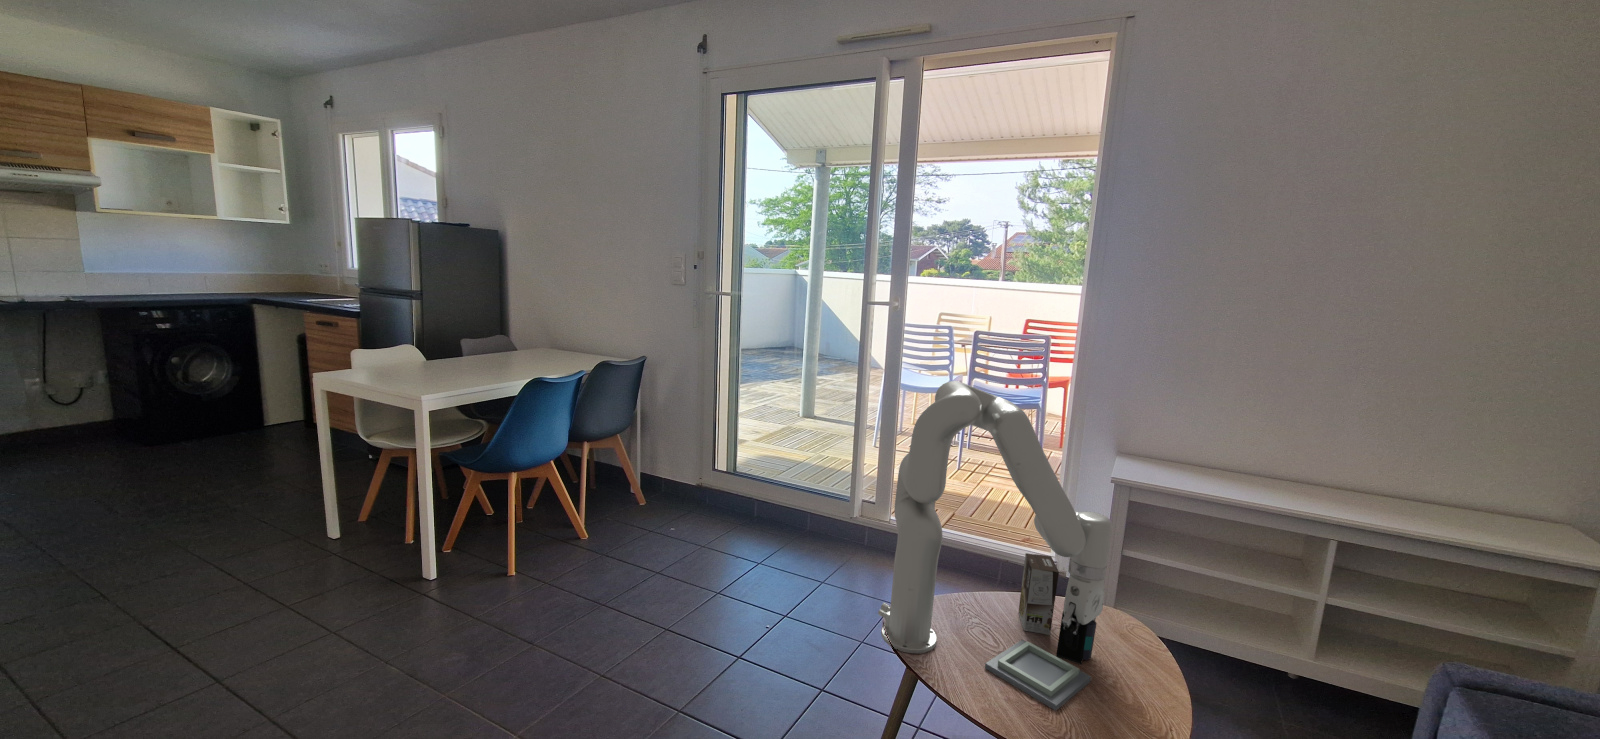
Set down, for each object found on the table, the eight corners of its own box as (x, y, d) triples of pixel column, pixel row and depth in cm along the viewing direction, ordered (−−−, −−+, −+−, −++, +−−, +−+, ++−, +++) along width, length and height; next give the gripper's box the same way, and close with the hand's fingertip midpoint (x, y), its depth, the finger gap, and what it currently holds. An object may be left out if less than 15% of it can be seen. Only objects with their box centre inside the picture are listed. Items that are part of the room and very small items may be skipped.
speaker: (1080, 668, 134) (1086, 622, 134) (1055, 656, 139) (1061, 611, 138) (1095, 659, 139) (1102, 614, 139) (1070, 647, 144) (1076, 604, 143)
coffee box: (1051, 635, 147) (1059, 572, 144) (1023, 631, 148) (1031, 568, 145) (1044, 615, 155) (1052, 555, 153) (1017, 611, 157) (1025, 551, 154)
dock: (984, 668, 133) (986, 658, 132) (1021, 644, 142) (1022, 634, 142) (1055, 710, 121) (1057, 699, 120) (1090, 681, 130) (1092, 671, 130)
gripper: (1086, 586, 128) (1075, 664, 131) (1121, 564, 140) (1110, 636, 143) (1051, 572, 134) (1042, 647, 137) (1088, 552, 145) (1078, 621, 148)
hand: (1077, 641), depth 140 cm, fingers closed on speaker, 6 cm apart
